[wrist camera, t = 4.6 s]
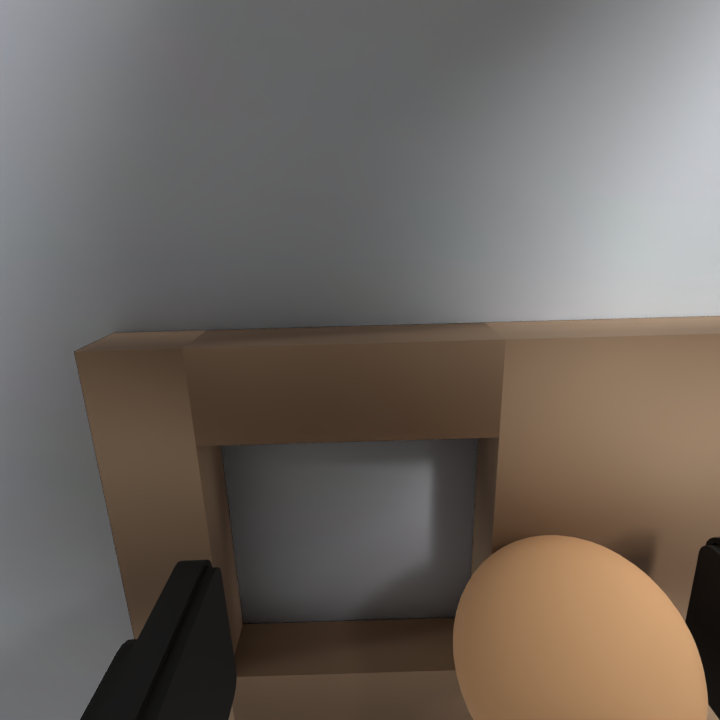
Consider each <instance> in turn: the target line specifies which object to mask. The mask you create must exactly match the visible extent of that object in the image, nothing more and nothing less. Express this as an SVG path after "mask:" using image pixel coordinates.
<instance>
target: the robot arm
mask: <svg viewBox="0 0 720 720" xmlns="http://www.w3.org/2000/svg"><path fill="white" fill-rule="evenodd" d="M685 623H686V625H687V627H688V629H689V630H690V632H691V634H692V636H693V639H694V641H695V643H696V646H697V649H698V652H699V655H700V658H701V662H702V665H703V669H704V674H705V679H706V685H707V693H708V705H709V706H710V708H711V709H712V710H713V712H714V713H715V714H716V716H717V717H718V718H719V720H720V537H713V538H710V539H709V540H708V541H707V542H706V545H705V546H702V547H701V548H700V551H699V554H698V559H697V564H696V569H695V574H694V580H693V585H692V590H691V595H690V600H689V605H688V610H687V615H686V620H685ZM236 681H237V673H236V665H235V659H234V652H233V646H232V639H231V633H230V626H229V620H228V613H227V606H226V600H225V593H224V587H223V580H222V574H221V569H220V568H219V567H212V564H211V562H210V560H186V561H179V562H177V564H176V565H175V567H174V569H173V571H172V573H171V575H170V577H169V579H168V581H167V583H166V584H165V586H164V588H163V590H162V592H161V594H160V596H159V598H158V600H157V602H156V604H155V606H154V608H153V610H152V612H151V613H150V615H149V617H148V619H147V621H146V623H145V625H144V627H143V629H142V631H141V633H140V635H139V637H138V639H132V640H127V641H126V642H125V643H124V644H123V645H122V646H121V647H120V649H119V650H118V652H117V653H116V655H115V657H114V659H113V661H112V663H111V664H110V666H109V668H108V670H107V672H106V673H105V675H104V677H103V679H102V681H101V683H100V684H99V686H98V688H97V690H96V692H95V694H94V695H93V697H92V699H91V701H90V703H89V705H88V706H87V708H86V710H85V712H84V714H83V715H82V717H81V719H80V720H229V716H230V712H231V708H232V704H233V700H234V696H235V690H236Z"/></svg>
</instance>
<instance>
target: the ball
mask: <svg viewBox="0 0 720 720" xmlns="http://www.w3.org/2000/svg"><path fill="white" fill-rule="evenodd" d="M453 656H454V663H455V669H456V675H457V679H458V682H459V686H460V689H461V693H462V695H463V698H464V700H465V703H466V706H467V708H468V710H469V712H470V714H471V716H472V718H473V720H707V714H708V693H707V685H706V679H705V674H704V669H703V665H702V662H701V658H700V655H699V652H698V649H697V646H696V643H695V641H694V639H693V636H692V634H691V632H690V630H689V629H688V627H687V625H686V623H685V621H684V620H683V618H682V616H681V614H680V613H679V611H678V610H677V609H676V607H675V606H674V604H673V603H672V602H671V600H670V599H669V598H668V596H667V595H666V594H665V593H664V592H663V591H662V590H661V588H660V587H659V586H658V585H657V584H656V583H655V582H654V581H653V580H652V579H651V578H650V577H649V576H648V575H646V574H645V573H644V572H643V571H642V570H641V569H639V568H638V567H637V566H636V565H634V564H633V563H631V562H630V561H628V560H627V559H625V558H624V557H622V556H621V555H619V554H617V553H615V552H613V551H612V550H610V549H608V548H606V547H604V546H601V545H598V544H596V543H593V542H590V541H587V540H583V539H579V538H575V537H568V536H560V535H541V536H534V537H528V538H525V539H521V540H518V541H515V542H513V543H511V544H508V545H506V546H504V547H502V548H501V549H499V550H498V551H496V552H495V553H493V554H492V555H491V556H490V557H488V558H487V559H486V560H485V561H484V562H483V563H482V564H481V565H480V566H479V567H478V569H477V570H476V571H475V572H474V573H473V575H472V577H471V578H470V580H469V581H468V583H467V584H466V587H465V589H464V591H463V593H462V595H461V598H460V601H459V604H458V608H457V611H456V616H455V622H454V628H453Z"/></svg>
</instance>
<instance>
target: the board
mask: <svg viewBox="0 0 720 720" xmlns="http://www.w3.org/2000/svg"><path fill="white" fill-rule="evenodd" d="M74 354H75V359H76V363H77V368H78V373H79V378H80V382H81V387H82V392H83V397H84V401H85V406H86V411H87V416H88V421H89V425H90V430H91V435H92V440H93V444H94V449H95V454H96V459H97V463H98V468H99V473H100V478H101V482H102V487H103V492H104V497H105V501H106V506H107V511H108V516H109V520H110V525H111V530H112V535H113V539H114V544H115V549H116V554H117V558H118V563H119V568H120V573H121V577H122V582H123V587H124V592H125V596H126V601H127V606H128V611H129V615H130V620H131V625H132V630H133V634H134V639H138V637H139V635H140V633H141V631H142V629H143V627H144V625H145V623H146V621H147V619H148V617H149V615H150V613H151V612H152V610H153V608H154V606H155V604H156V602H157V600H158V598H159V596H160V594H161V592H162V590H163V588H164V586H165V584H166V583H167V581H168V579H169V577H170V575H171V573H172V571H173V569H174V567H175V565H176V564H177V562H179V561H186V560H210V562H211V564H212V567H219V568H220V569H221V574H222V580H223V587H224V593H225V600H226V606H227V613H228V620H229V626H230V633H231V639H232V646H233V652H234V659H235V665H236V673H237V681H236V690H235V696H234V700H233V704H232V708H231V712H230V716H229V720H473V718H472V716H471V714H470V712H469V710H468V708H467V706H466V703H465V700H464V698H463V695H462V693H461V689H460V686H459V682H458V679H457V675H456V669H455V663H454V656H453V628H454V622H455V618H430V619H398V620H365V621H332V622H299V623H267V624H243V620H242V612H241V604H240V596H239V588H238V580H237V572H236V563H235V555H234V547H233V539H232V531H231V523H230V515H229V507H228V499H227V490H226V482H225V474H224V466H223V458H222V450H221V445H256V444H291V443H325V442H360V441H395V440H430V439H465V438H478V451H477V470H476V489H475V508H474V527H473V546H472V565H471V577H472V575H473V573H474V572H475V571H476V570H477V569H478V567H479V566H480V565H481V564H482V563H483V562H484V561H485V560H486V559H487V558H488V557H490V556H491V555H492V554H493V553H495V552H496V551H498V550H499V549H501V548H502V547H504V546H506V545H508V544H511V543H513V542H515V541H518V540H521V539H525V538H528V537H534V536H541V535H560V536H568V537H575V538H579V539H583V540H587V541H590V542H593V543H596V544H598V545H601V546H604V547H606V548H608V549H610V550H612V551H613V552H615V553H617V554H619V555H621V556H622V557H624V558H625V559H627V560H628V561H630V562H631V563H633V564H634V565H636V566H637V567H638V568H639V569H641V570H642V571H643V572H644V573H645V574H646V575H648V576H649V577H650V578H651V579H652V580H653V581H654V582H655V583H656V584H657V585H658V586H659V587H660V588H661V590H662V591H663V592H664V593H665V594H666V595H667V596H668V598H669V599H670V600H671V602H672V603H673V604H674V606H675V607H676V609H677V610H678V611H679V613H680V614H681V616H682V618H683V620H684V621H685V620H686V615H687V610H688V605H689V600H690V595H691V590H692V585H693V580H694V574H695V569H696V564H697V559H698V554H699V551H700V548H701V547H702V546H705V545H706V542H707V541H708V540H709V539H710V538H713V537H720V316H701V317H665V318H629V319H593V320H557V321H520V322H484V323H448V324H412V325H375V326H339V327H303V328H267V329H230V330H194V331H158V332H122V333H112V334H110V335H108V336H106V337H104V338H102V339H100V340H97V341H95V342H93V343H91V344H89V345H87V346H85V347H83V348H81V349H78V350H76V351H74ZM707 720H719V718H718V717H717V716H716V714H715V713H714V712H713V710H712V709H711V708H710V706H709V705H708V714H707Z"/></svg>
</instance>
